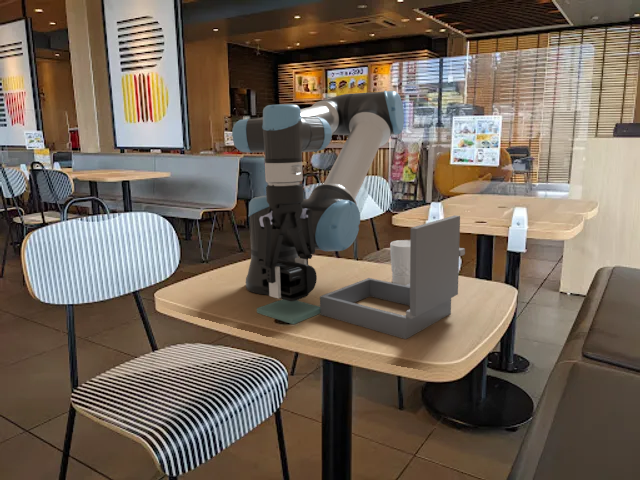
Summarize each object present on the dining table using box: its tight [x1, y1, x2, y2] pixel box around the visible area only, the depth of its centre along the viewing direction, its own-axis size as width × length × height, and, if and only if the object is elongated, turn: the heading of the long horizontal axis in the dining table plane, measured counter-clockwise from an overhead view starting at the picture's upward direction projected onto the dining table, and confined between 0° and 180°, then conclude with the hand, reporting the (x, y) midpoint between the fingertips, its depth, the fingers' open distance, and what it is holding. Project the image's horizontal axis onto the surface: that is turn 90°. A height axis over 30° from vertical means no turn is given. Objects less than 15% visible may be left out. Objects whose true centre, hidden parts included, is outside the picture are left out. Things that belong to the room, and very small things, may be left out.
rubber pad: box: [256, 299, 320, 325], centre depth 108 cm, size 11×9×1 cm
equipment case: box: [319, 215, 466, 340], centre depth 104 cm, size 23×19×21 cm
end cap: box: [261, 259, 317, 301], centre depth 106 cm, size 10×7×7 cm
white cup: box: [389, 239, 410, 285], centre depth 126 cm, size 8×8×10 cm
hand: (288, 292), depth 107 cm, fingers closed on end cap, 7 cm apart
